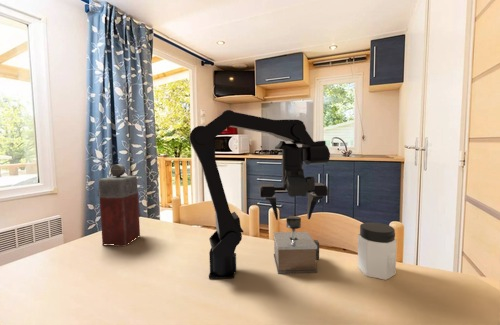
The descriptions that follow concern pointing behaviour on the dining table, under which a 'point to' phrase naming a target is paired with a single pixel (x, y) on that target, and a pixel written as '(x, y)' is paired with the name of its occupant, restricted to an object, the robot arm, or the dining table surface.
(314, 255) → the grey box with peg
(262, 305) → the dining table surface
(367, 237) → the jar
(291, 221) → the plunger
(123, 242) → the red canister
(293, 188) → the robot arm
